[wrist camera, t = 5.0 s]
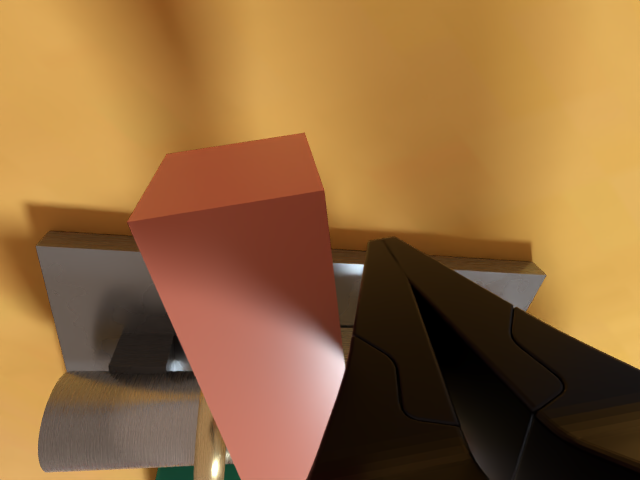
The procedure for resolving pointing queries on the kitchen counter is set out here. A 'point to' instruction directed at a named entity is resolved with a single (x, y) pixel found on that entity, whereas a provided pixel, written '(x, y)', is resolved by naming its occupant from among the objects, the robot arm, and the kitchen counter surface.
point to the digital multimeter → (192, 473)
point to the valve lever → (250, 293)
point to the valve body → (163, 355)
